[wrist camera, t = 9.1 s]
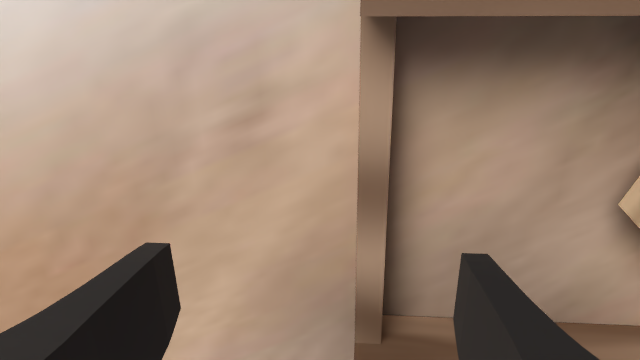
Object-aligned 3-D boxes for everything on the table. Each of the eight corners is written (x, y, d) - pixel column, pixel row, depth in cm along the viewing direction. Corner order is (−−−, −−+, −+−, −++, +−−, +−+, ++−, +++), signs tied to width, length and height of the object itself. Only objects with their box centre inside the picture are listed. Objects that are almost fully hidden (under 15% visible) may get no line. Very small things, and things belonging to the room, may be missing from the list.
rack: (644, 342, 25) (697, 422, 21) (355, 329, 26) (353, 402, 22) (775, -37, 18) (896, -25, 14) (362, -33, 19) (361, -21, 15)
